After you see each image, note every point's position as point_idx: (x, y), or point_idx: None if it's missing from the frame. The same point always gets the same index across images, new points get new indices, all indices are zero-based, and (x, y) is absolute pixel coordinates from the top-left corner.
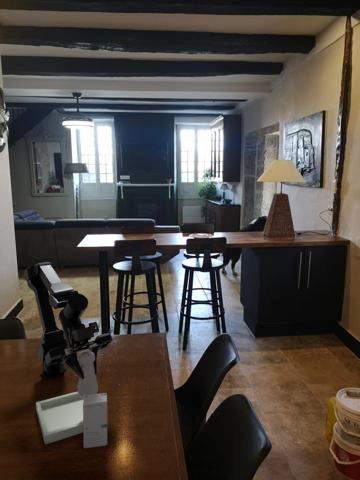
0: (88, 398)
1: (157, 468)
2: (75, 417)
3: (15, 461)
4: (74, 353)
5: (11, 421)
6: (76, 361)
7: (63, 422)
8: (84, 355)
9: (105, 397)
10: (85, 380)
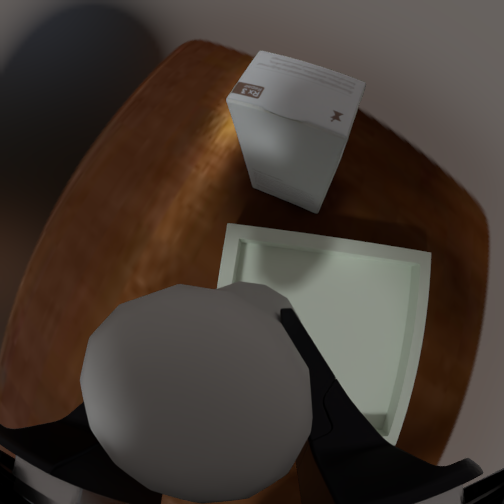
0: (332, 98)
1: (213, 55)
2: (309, 319)
3: (474, 240)
4: (381, 499)
5: (449, 408)
6: (330, 432)
7: (353, 315)
8: (237, 394)
9: (251, 69)
10: (271, 306)
